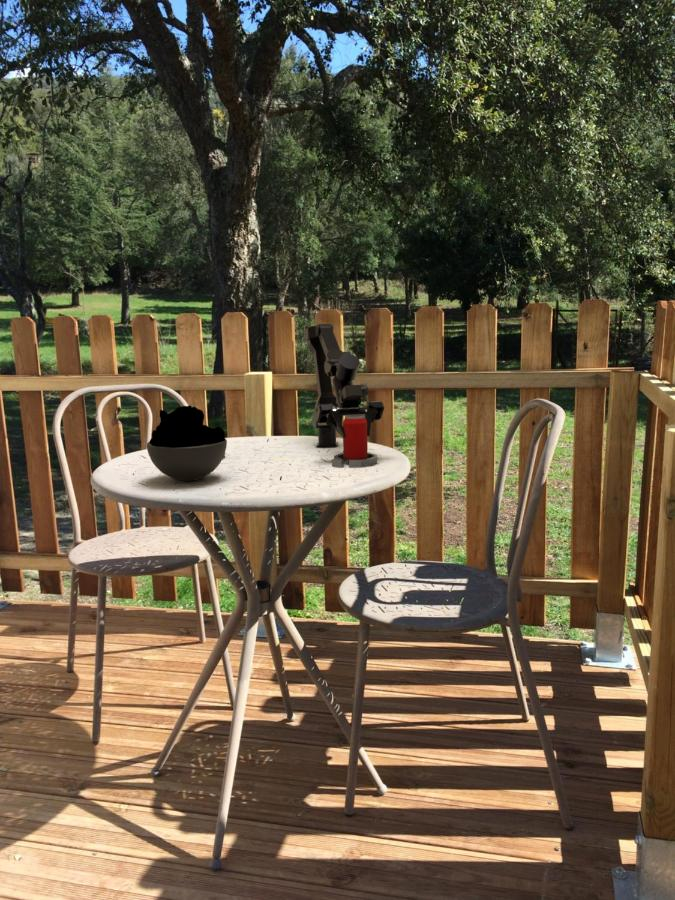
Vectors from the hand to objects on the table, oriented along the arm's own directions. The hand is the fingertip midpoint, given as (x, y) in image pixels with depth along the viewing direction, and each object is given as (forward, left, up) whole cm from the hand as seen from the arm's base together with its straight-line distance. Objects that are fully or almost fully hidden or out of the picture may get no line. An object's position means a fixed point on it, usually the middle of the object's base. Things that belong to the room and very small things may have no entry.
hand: (356, 436), depth 208 cm
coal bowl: (+19, -42, -8) cm, 47 cm away
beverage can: (-1, 0, -7) cm, 7 cm away
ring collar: (-1, 0, -8) cm, 8 cm away
